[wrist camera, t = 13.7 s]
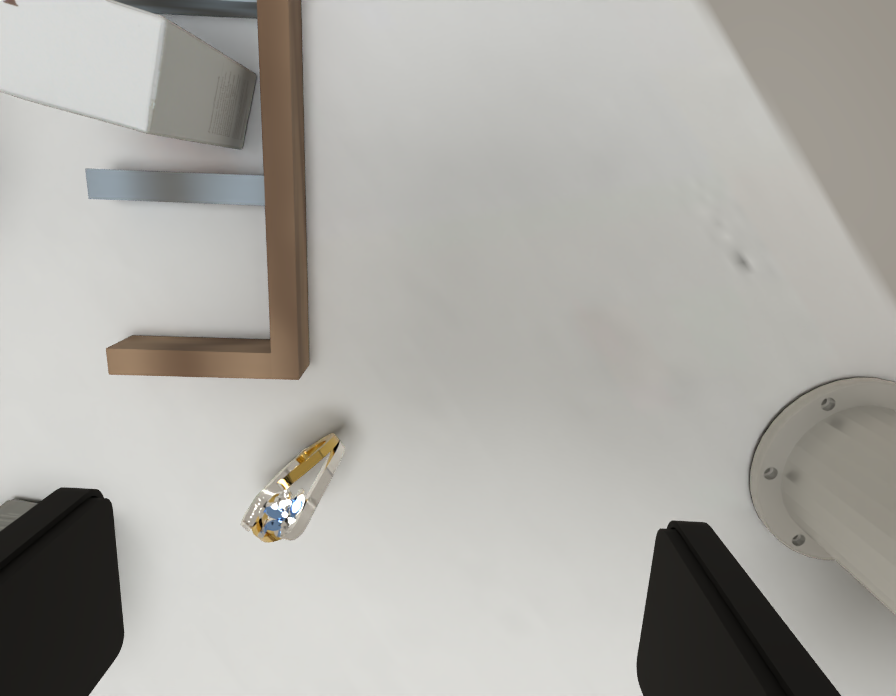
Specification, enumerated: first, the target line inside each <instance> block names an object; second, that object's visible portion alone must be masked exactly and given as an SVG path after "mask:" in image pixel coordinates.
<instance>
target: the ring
mask: <svg viewBox="0 0 896 696" xmlns="http://www.w3.org/2000/svg"><path fill="white" fill-rule="evenodd" d="M329 452H330V454H329V455H328V457H327V459H326V461H325V463H324V464H323V466H322V468H321V470H320V472H319V473H318V475H317V477H316V479H315V481H314V483H313V484H312V486H311V488H310V490H309V492H308V494H307V496H306V498H305V491H304V489H301V490H299V491H298V493H297V494H296V495H295V496H294V497H293V498H292V496H293V494H292V493H291V492H290V490H289V488H290V487H291V486H292V485H293V483H294V482H296V481H297V480H298V479H299V478H300V477H301V476H303V475H304V474H305V473H306V472H307V471H309V470H310V469H311V468H312V467H313V466H315V465H316V464H317V463H318V462H319V461H320V460H322V459H323V458H324V457H325V456H326V455H327V454H328V453H329ZM344 452H345V446H344V445H343V443H342V442H341V441H340V440H339V439H338V437H337V436H336V435H335V434H334V433H331V434H329V435H327V436H325V437H323V438H322V439H320V440H319V441H317V442H316V443H314V444H313V445H311V446H310V447H306V448H305V449H303V450H302V451H301V452H300V453H299V454H298V456H296V457H295V458H294V459H293V460H292V461H291V462H290V463H288V464H287V465H286V466H285V467H284V468H283V469H282V470H281V471H280V472H279V473H278V474H277V475H276V476H275V477H274V478H273V479H272V480H271V481H270V482H269V483H268V484H267V485H266V486H265V488H264V489H263V490H262V491H261V492H260V493H259V494H258V495H257V496H256V497H255V499H254V500H253V502H252V503H251V505H250V506H249V508H248V509H247V511H246V512H245V514H244V516H243V518H242V521H241V524H240V525H241V526H242V527H243V528H245V529H246V530H247V531H248V532H249V531H250V530H251V529H252V531H253V534H254V535H255V536H256V537H258V538H259V539H260V540H261V541H263V542H274V541H278V540H280V539H285V540H289V541H291V540H295V539H296V538H298V537H299V536H300V535H301V534H302V533H303V532H304V530H305V529H306V527H307V525H308V523H309V521H310V519H311V517H312V515H313V513H314V511H315V509H316V507H317V505H318V503H319V501H320V499H321V498H322V496H323V494H324V492H325V490H326V488H327V486H328V484H329V483H330V481H331V479H332V477H333V475H334V473H335V471H336V469H337V467H338V465H339V463H340V461H341V459H342V457H343V455H344ZM279 494H280V496H279V497H278V495H279ZM289 509H290V511H289ZM297 513H298V514H297ZM296 515H297V516H296ZM268 516H269V517H270V518H269V519H267V518H268ZM291 523H292V524H291ZM289 524H291V525H290V526H289ZM288 526H289V527H288Z"/></svg>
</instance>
